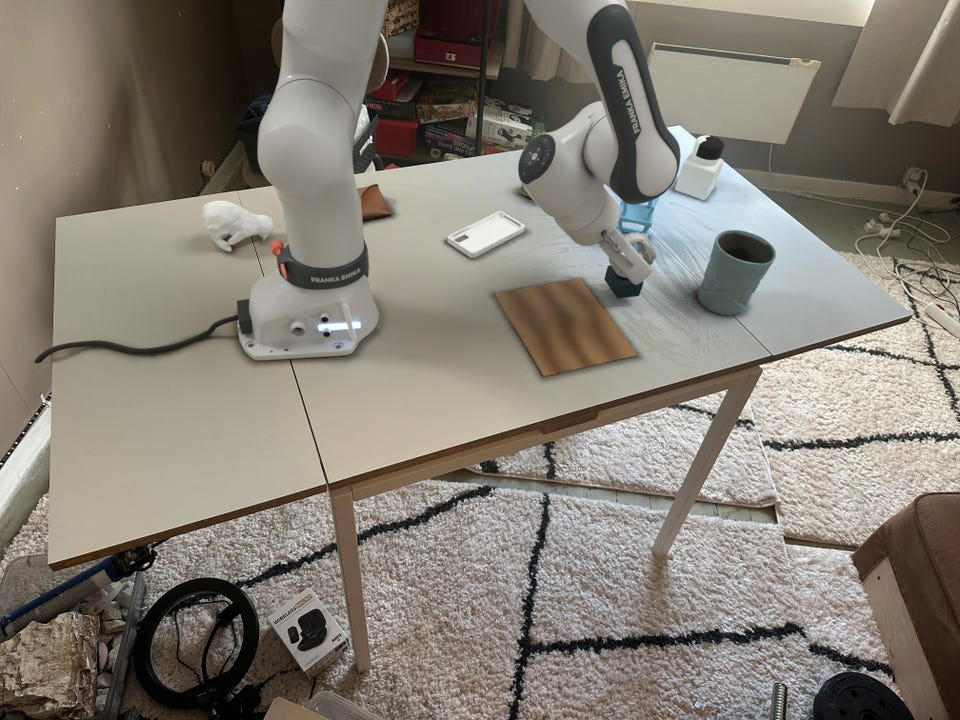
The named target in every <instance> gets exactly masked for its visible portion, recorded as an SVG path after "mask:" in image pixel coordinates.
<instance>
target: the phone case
mask: <svg viewBox="0 0 960 720" xmlns="http://www.w3.org/2000/svg"><path fill="white" fill-rule="evenodd" d="M510 219H511V220H510ZM516 223H517V224H516ZM518 224H519V225H518ZM525 229H526V225H525V224H524V223H522V222H521V221H519V220H517V219H516V218H514V217H512V216H511V215H509V214H507V213H506V212H504V211H502V210H499V211H496V212H494V213H492V214H490V215H488V216H486V217H484V218H482V219H480V220H477V221H475V222H473V223H471V224H469V225H467V226H465V227H463V228H461V229H459V230H457V231H454V232H452V233H449V235H448V236H447V243H448V244H449V245H451V246H452V247H453V248H455V249H456V250H458V251H460V252H461V253H463V254H464V255H466V256H467V257H469V258H470V259H475V258H477V257H479V256H481V255H483V254H485V253H487V252H489V251H491V250H493V249H494V248H496V247H498V246H500V245H502V244H505V243H506V242H508V241H510V240H512V239H514V238H516V237H518V236H520V235H521V234H523V233H524V232H525ZM463 236H465V237H467V238H466V239H464V240H462V241H460V242H458V241H456V240H457V239H459V238H461V237H463Z"/></svg>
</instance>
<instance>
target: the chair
mask: <svg viewBox="0 0 960 720" xmlns="http://www.w3.org/2000/svg"><path fill="white" fill-rule="evenodd" d="M659 199H660V197H658V198H656V199H654V200H652V201H649V202H647V204H643V203H642V204H637V205H631V204H627V203H625V202H624V201H623V200H621V199H620V203H619V209H620V217H619V221H618V223H617V227H616V228H617V229H618V230H619V231H620V233H621V234H622V235H623V236H624V234H623V233H626V234H629V233H634V232H639V233H640V234H641V233H644V234H645V235H646V236H647V238H648V239H649V235H650V231H649V230H650V228H652V225H653V218H654V211H655V210H656V206H657V203H658V201H659ZM623 223H631V224H636V225H640V226H643V229H638V228H632V227H631V228H630V227H626V226H623ZM632 246H633V247H634V249H635V250H636V251H637V252H638V250H640V249H639V247H638V245H637V242H634V243H633V245H632Z"/></svg>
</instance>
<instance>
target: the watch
mask: <svg viewBox="0 0 960 720" xmlns="http://www.w3.org/2000/svg"><path fill="white" fill-rule="evenodd" d="M623 236H624V237H625V238H626V239H627V241H628V242H629V243H630V244H631V245H632V244H634V243H635V242H637V245H638V247H639V249H638V250H639V252H640V254H641V256H642V258H643V259H644V260H645V261H646V262H647V263H648V264H649V266H650V267H651V266H652V265H653V263H654V261H655V259H657V253H656V250H655V248H654V246H653V244H652V242H651V241H650V239H649V237H648V238H647V236H646V235H645V234H644V233H641V234H640V233H639V232H634V233H626V234H623ZM608 262H609V264H608V265H607V268H606V272H605V275H604V282H605V283H606V285H607V287H609V289H610V291H611V292H612V294H613V296H614V297H615V299H617V300H621V299H627V298H634V297H640V295H641V291H642V289H643V286H644V283H645V281H643V282H641V283H640V284H638V285H635V284H633V283H632V282H631V281H630V280H629V279H628V278H627V277H626V276H625V275H624V274H623V272H622V271H621V270H620V269H619V268H618V267H617V266H616V265H615V264H614V263H613V261H612V260H611V259H610V258H609V257H608Z"/></svg>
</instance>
